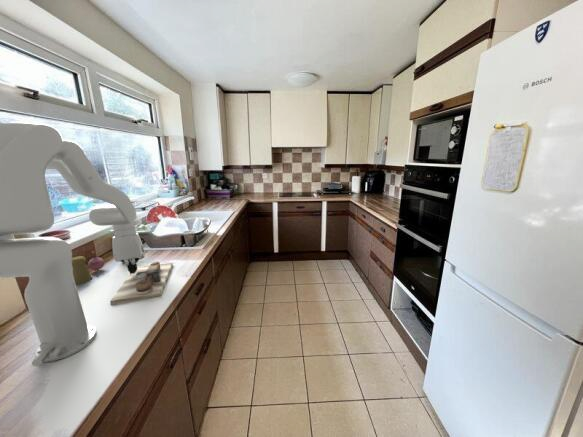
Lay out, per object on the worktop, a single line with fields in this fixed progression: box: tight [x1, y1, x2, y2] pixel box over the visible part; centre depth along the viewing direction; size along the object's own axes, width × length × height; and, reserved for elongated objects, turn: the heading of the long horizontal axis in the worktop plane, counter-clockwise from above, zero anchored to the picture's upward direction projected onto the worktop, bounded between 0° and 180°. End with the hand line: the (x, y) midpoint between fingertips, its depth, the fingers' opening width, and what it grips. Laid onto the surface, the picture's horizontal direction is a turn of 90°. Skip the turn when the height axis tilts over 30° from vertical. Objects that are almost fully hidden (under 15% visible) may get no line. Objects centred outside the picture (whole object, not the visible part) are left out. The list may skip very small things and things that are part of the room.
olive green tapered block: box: [72, 255, 93, 285], centre depth 100 cm, size 6×6×11 cm
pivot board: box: [109, 262, 174, 306], centre depth 99 cm, size 28×16×6 cm, turn 18°
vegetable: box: [87, 250, 105, 272], centre depth 109 cm, size 6×6×10 cm
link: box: [136, 261, 161, 292], centre depth 97 cm, size 22×5×6 cm, turn 16°
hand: (133, 272), depth 102 cm, fingers closed
